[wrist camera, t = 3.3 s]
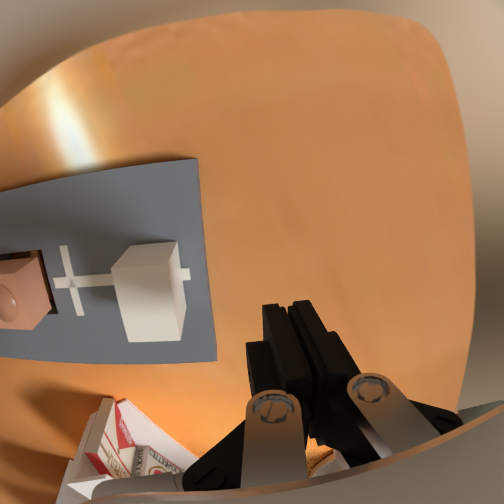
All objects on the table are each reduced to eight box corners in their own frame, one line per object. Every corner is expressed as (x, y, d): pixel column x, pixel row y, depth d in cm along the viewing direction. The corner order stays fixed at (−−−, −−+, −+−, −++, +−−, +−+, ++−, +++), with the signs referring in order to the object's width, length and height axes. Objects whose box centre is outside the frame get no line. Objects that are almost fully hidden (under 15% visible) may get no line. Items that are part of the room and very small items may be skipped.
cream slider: (177, 241, 19) (167, 264, 15) (186, 306, 20) (180, 340, 16) (130, 245, 18) (110, 268, 15) (142, 309, 20) (128, 342, 16)
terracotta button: (37, 256, 18) (13, 274, 15) (51, 308, 19) (31, 330, 16) (0, 260, 18) (-25, 276, 14) (14, 308, 19) (-7, 329, 16)
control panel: (197, 158, 19) (195, 158, 17) (216, 345, 24) (216, 361, 22) (-60, 210, 17) (-74, 215, 15) (-22, 341, 22) (-32, 352, 20)
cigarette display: (234, 482, 31) (241, 544, 22) (199, 492, 31) (199, 550, 22) (117, 388, 24) (92, 469, 15) (81, 404, 25) (53, 475, 16)
